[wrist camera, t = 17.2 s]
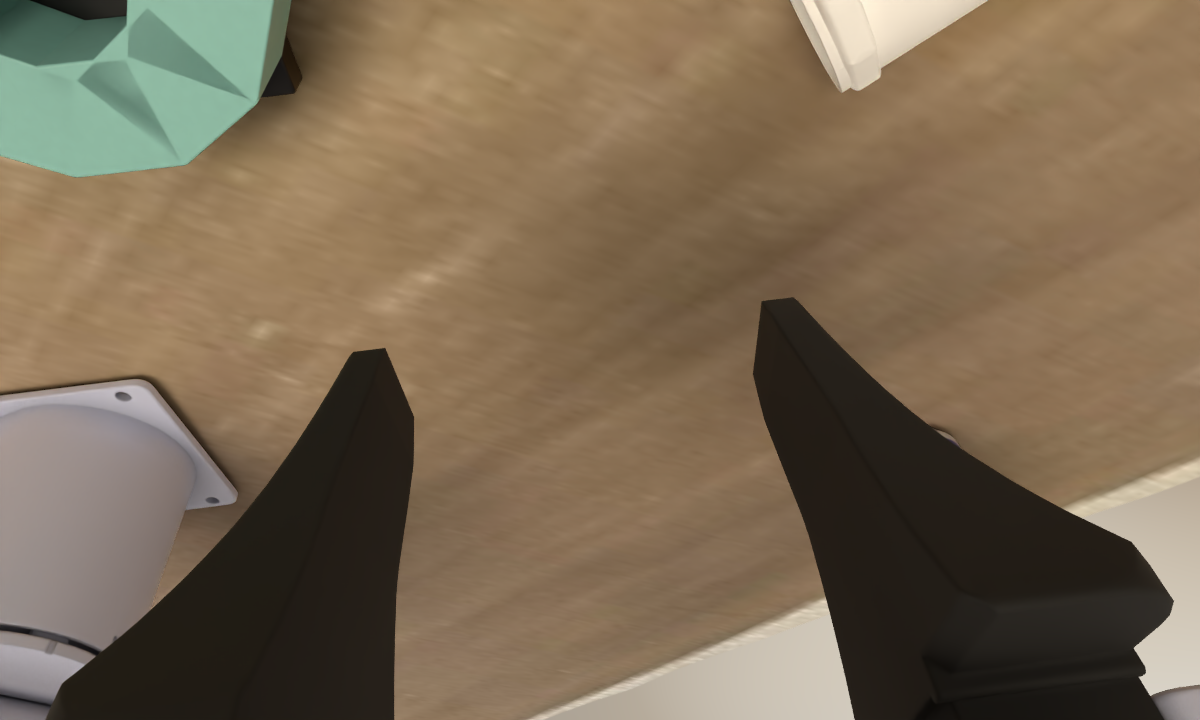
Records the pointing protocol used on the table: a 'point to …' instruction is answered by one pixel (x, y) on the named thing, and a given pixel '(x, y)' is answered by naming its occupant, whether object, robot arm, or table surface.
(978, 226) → the table surface
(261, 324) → the table surface
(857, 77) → the knuckle duster
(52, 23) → the ring
